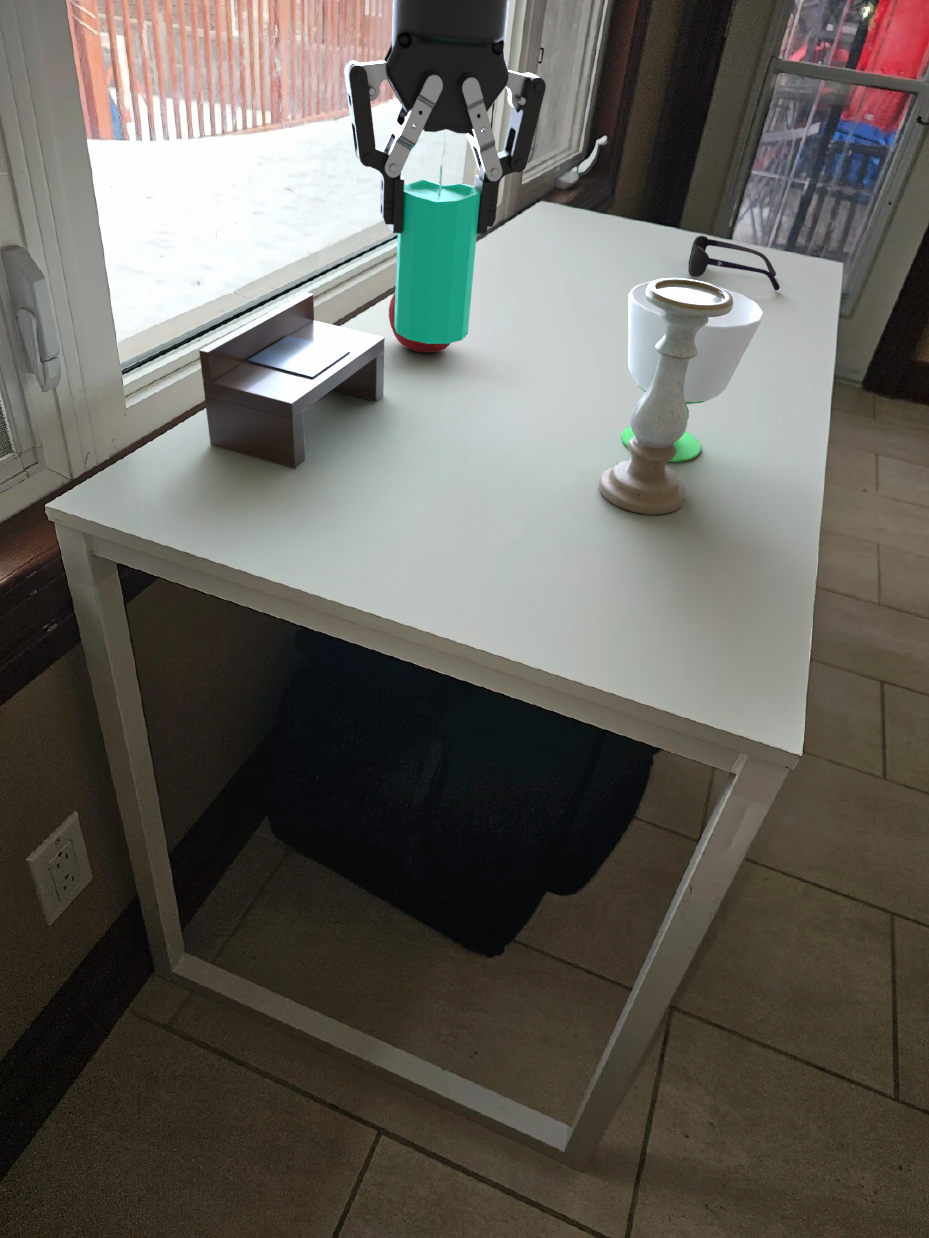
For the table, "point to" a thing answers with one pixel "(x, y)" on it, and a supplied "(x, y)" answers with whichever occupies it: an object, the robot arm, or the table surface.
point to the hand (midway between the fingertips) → (436, 230)
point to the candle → (436, 261)
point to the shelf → (283, 379)
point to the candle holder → (664, 400)
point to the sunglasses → (701, 260)
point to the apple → (410, 343)
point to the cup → (705, 372)
